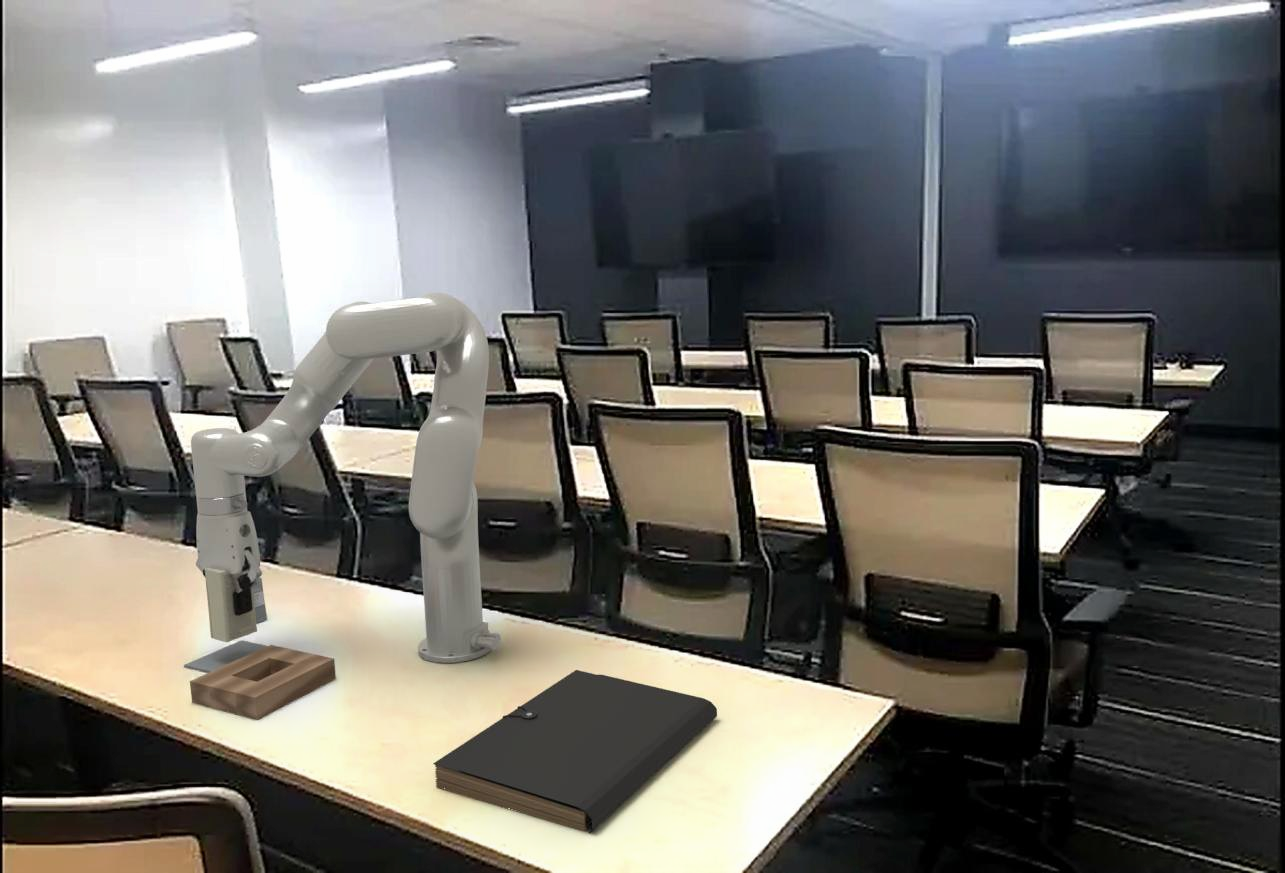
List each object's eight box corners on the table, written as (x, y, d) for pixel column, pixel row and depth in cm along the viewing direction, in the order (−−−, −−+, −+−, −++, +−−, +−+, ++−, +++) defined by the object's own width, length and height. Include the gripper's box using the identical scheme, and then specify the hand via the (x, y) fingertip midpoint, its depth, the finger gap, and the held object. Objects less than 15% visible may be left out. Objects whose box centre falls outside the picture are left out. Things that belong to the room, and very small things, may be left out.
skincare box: (241, 628, 181) (235, 558, 180) (258, 632, 179) (253, 562, 177) (209, 639, 176) (203, 568, 174) (226, 643, 174) (220, 571, 172)
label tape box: (268, 620, 197) (261, 557, 195) (247, 627, 194) (241, 562, 192) (244, 610, 203) (238, 548, 201) (224, 616, 200) (217, 553, 198)
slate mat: (291, 653, 181) (291, 650, 181) (234, 679, 171) (234, 677, 171) (241, 642, 187) (241, 640, 187) (184, 667, 176) (183, 664, 176)
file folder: (575, 667, 163) (717, 699, 151) (575, 692, 164) (717, 726, 152) (431, 760, 135) (592, 809, 123) (433, 790, 136) (593, 841, 124)
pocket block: (335, 679, 170) (334, 658, 169) (257, 719, 156) (254, 697, 155) (272, 664, 176) (270, 644, 176) (192, 702, 163) (189, 681, 162)
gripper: (277, 504, 173) (286, 611, 176) (205, 494, 181) (215, 596, 184) (240, 515, 167) (250, 625, 170) (167, 504, 174) (179, 610, 178)
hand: (232, 609), depth 177 cm, fingers closed on skincare box, 4 cm apart
